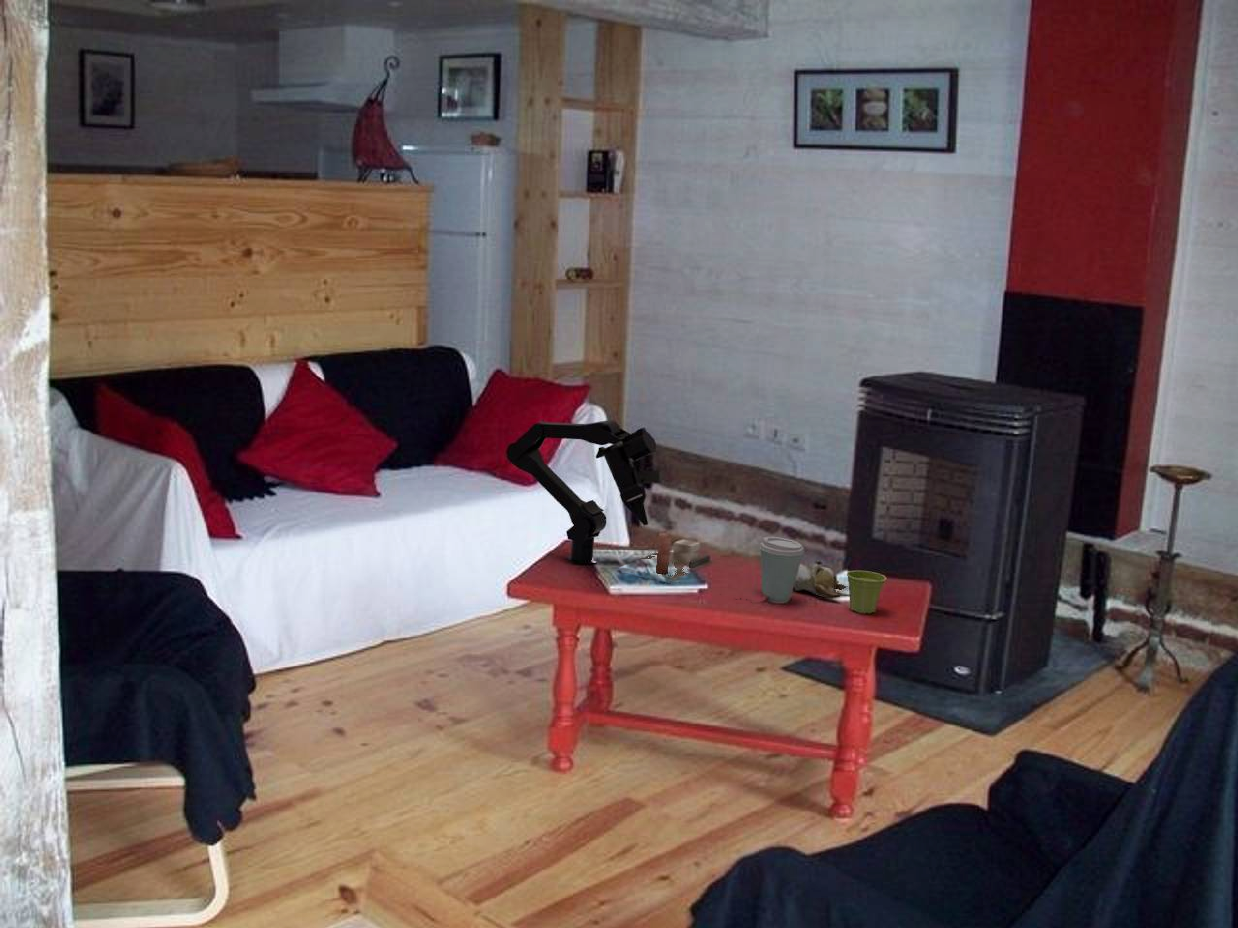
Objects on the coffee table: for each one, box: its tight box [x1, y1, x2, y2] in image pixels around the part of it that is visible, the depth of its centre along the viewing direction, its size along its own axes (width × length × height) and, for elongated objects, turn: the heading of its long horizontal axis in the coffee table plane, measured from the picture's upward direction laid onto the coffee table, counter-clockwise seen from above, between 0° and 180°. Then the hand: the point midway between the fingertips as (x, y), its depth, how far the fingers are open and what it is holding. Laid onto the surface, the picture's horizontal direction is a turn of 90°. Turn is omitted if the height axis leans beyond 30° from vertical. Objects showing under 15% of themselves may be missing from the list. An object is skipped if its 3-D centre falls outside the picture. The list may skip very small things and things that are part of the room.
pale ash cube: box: [673, 538, 701, 565], centre depth 370 cm, size 5×5×5 cm
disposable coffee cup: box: [759, 536, 805, 605], centre depth 345 cm, size 11×11×15 cm
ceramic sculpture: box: [793, 561, 847, 599], centre depth 354 cm, size 11×9×15 cm
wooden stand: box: [637, 532, 716, 581], centre depth 365 cm, size 16×24×11 cm, turn 151°
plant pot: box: [846, 570, 887, 614], centre depth 343 cm, size 9×9×9 cm
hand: (646, 524), depth 358 cm, fingers open, 9 cm apart
